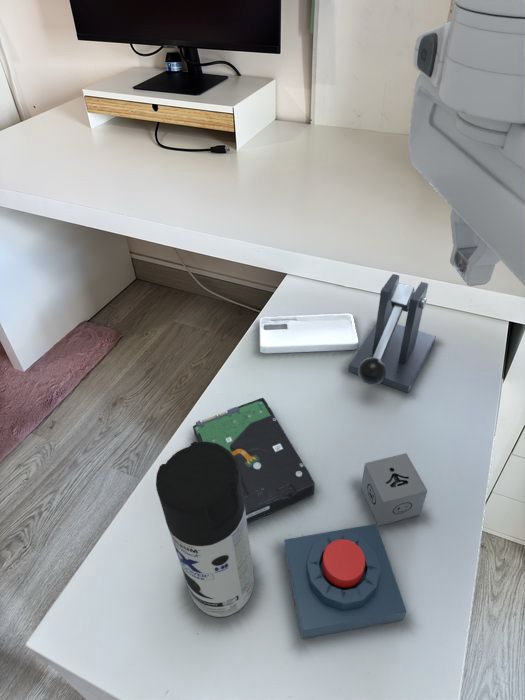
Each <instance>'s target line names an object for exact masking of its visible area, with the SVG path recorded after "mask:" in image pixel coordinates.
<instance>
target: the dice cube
mask: <svg viewBox="0 0 525 700" xmlns="http://www.w3.org/2000/svg"><path fill="white" fill-rule="evenodd" d="M360 489H361V491H362V493H363V496H364V498H365V500H366V502H367V505H368V506H369V509H370V511H371V513H372V515H373V517H374V520H375V522H376V525H377V527H379V526H383V525H388V524H390V523H395V522H397V521H398V522H399V521H402V520H405V519H410V518H412V517H416V516H420V515H421V512H422V509H423V506H424V503H425V499H426V497H427V494H428V489H427V487H426V485H425V483H424V482H423V480H422V478H421V477H420V474H419V473H418V471H417V469H416V467H415V466H414V464H413V462H412V460H411V459H410V457H409V455H408V454H407V452H406V453H401V454H397V455H393V456H388V457H386V458H381V459H377V460H372V461H368V462H365V463H364V467H363V473H362V479H361V486H360Z"/></svg>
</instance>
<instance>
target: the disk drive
mask: <svg viewBox="0 0 525 700" xmlns="http://www.w3.org/2000/svg"><path fill="white" fill-rule="evenodd" d="M226 411H227V412H226ZM226 411H225V412H222V413H218V414H215V415H213V416H211V417H208V418H205V419H203V420H197V421H195V424H194V425H193V426H192V430H193V433H194V436H195V439H196V442H199V441H203V442H213V443H217V444H219V445H221V446H223V447H225V448H226V449H228V450H229V451H230V452H231V453H232V455H233V456H234V457H235V459H236V461H237V463H238V466H239V471H240V478H241V484H242V490H243V496H244V503H245V512H246V519H247V524H249V523H251V522H254V521H257V520H258V519H260V518H263V517H265V516H267V515H270V514H273V513H275V512H276V511H279V510H281V509H283V508H287V507H288V506H291V505H293V504H296V503H297V502H300V501H302V500H304V499H306V498H309V497H311V496H314V495H315V487H316V486H315V483H316V482H315V481H314V479H313V477H312V476H311V473H310V472H309V470H308V468H307V467H306V465H305V464H304V463H303V460H302V459H301V457H300V456H299V454H298V452H297V451H296V449H295V448H294V446H293V444H292V443H291V441H290V439H289V437H288V435H287V434H286V433H285V431H284V429H283V427H282V425H281V424H280V422H279V420H278V419H277V418H276V416H275V414H274V412H273V409H271V407H270V406H269V404H268V402H267V400H266V399H265V398H264V397H259V398H258V399H255V400H252V401H249V402H246V403H243V404H241V405H239V406H235V407H234V406H233V407H231V408H229V409H227V410H226Z"/></svg>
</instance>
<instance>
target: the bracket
mask: <svg viewBox="0 0 525 700" xmlns="http://www.w3.org/2000/svg"><path fill="white" fill-rule="evenodd" d="M398 283H400V275H399V274H396V273H392V274H391V276H390V277H389V278H388V280H387V281H386V283H385V284H384V286H382V287H381V290H380V293H379V302H378V309H377V315H376V316H377V317H376V324H375V325H374V327H373V328H372V330H371V331H370V333H369V334H368V335H367V337H366V338H365V340H364V342H363V343H362V345H361V346H360V347H359V349H358V350H357V352H356V354H355V356H353V358H352V360H351V361H350V363H349V364H348V372H350V373H353V374H355V375H358V376H359V372H358V370H359V366H360V364H361V362H362V361H363V360H365V359H367V358H371V357H373V356H374V353H375V351H376V348H377V346H378V344H379V341H380V339H381V337H382V334H383V332H384V329H385V327H386V325H387V322H388V320H389V317H390V315H391V313H392V310H393V308H392V304H391V299H392V297H393V294H394V292H395V290H396V287H397V285H398ZM428 288H429V283H428V282H425V281H420V283H419V284H418V286H417V288H416V289H415V290H414V294H413V296H412V297H411V299H410V304H409V309H408V312H407V315H406V318H405V319H406V320H405V325H401V324H398V323H397V325H396V328H395V330H394V333H393V335H392V337H391V340H390V342H389V345H388V347H387V349H386V352H385V354H384V357H383V359H382V362H383V363H384V365H385V367H386V376H385V378H384V379H383V380H382V381H381V382H380V383H379V384H383V385H386V386H388V387H390V388H393V389H396V390H398V391H402V392H404V393H409V392H410V391H411V388H412V387H413V384H414V382H415V380H416V379H417V376H418V375H419V372H420V371H421V369H422V367H423V365H424V363H425V361H426V359H427V358H428V355H429V354H430V352H431V350H432V349H433V346H434V344H435V341H436V335H434V334H430V333H427V332H424V331H422V330H420V329H419V328H420V324H421V320H422V315H423V311H424V308H425V307H426V304H427V298H426V297H427V293H428Z"/></svg>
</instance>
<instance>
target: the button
mask: <svg viewBox="0 0 525 700" xmlns="http://www.w3.org/2000/svg"><path fill="white" fill-rule="evenodd" d="M322 567H323V572H324V574H325V576H326V578H327V579H328V580H329V581H330V582H331V583H332V584H334V585H335V586H338V587H342V588H348V587H352V586H354V585H356V584H357V583H358V582H359V581H360V580H361V578H362V576H363V573H364V568H365V557H364V554H363V552H362V550H361V549H360V548H359V546H357V545H356V544H355V543H353V542H351V541H349V540H336V541H333V542H332V543H330V544H329V545H328V546H327V547H326V549H325V551H324V554H323V564H322Z"/></svg>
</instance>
